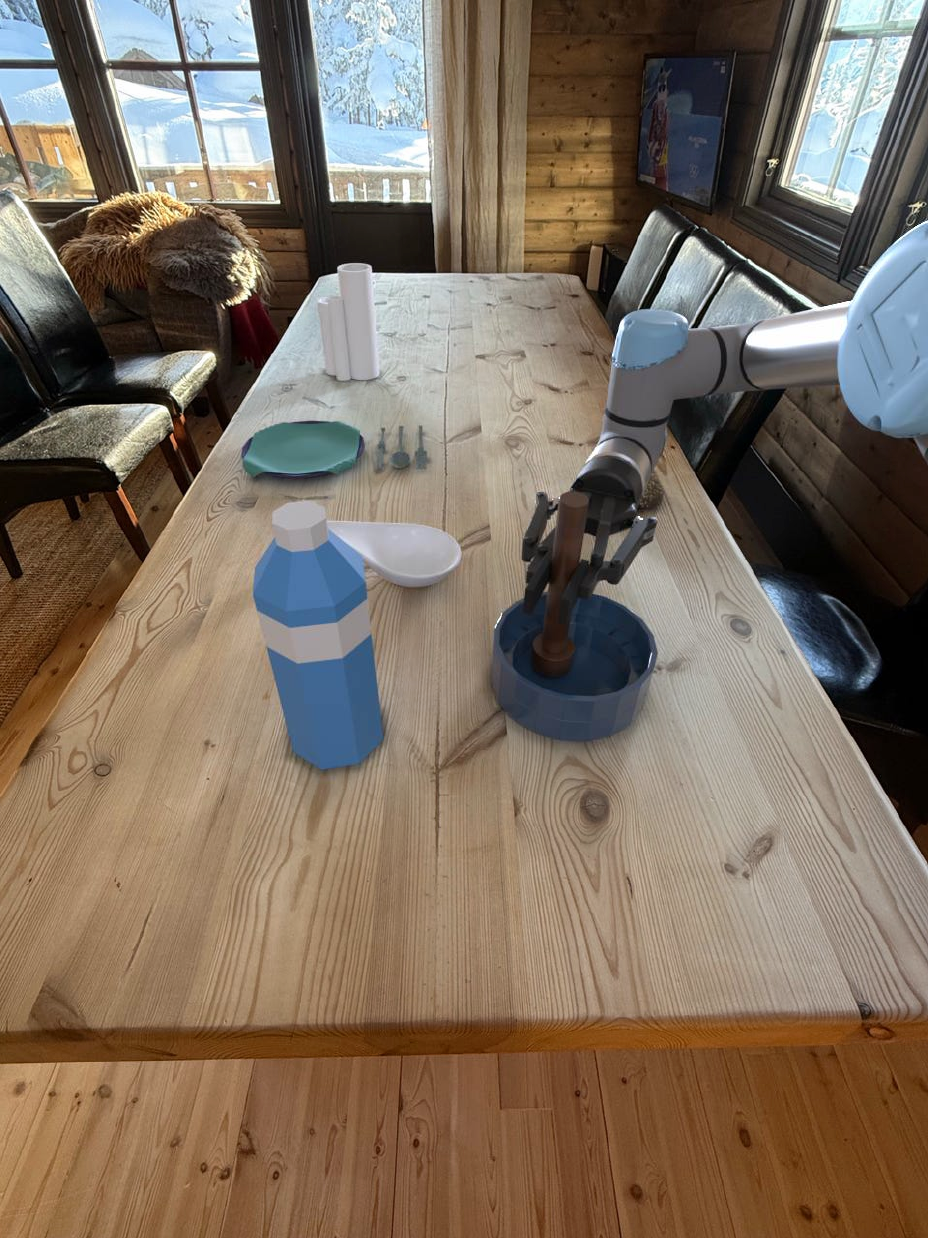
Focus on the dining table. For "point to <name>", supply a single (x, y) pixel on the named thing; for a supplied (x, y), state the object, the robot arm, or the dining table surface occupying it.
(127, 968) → the dining table surface
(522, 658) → the bowl
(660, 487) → the bread roll
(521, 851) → the dining table surface
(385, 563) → the spoon rest
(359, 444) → the cutlery set
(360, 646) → the water bottle
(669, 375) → the robot arm
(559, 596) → the pestle
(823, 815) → the dining table surface
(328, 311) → the vase
